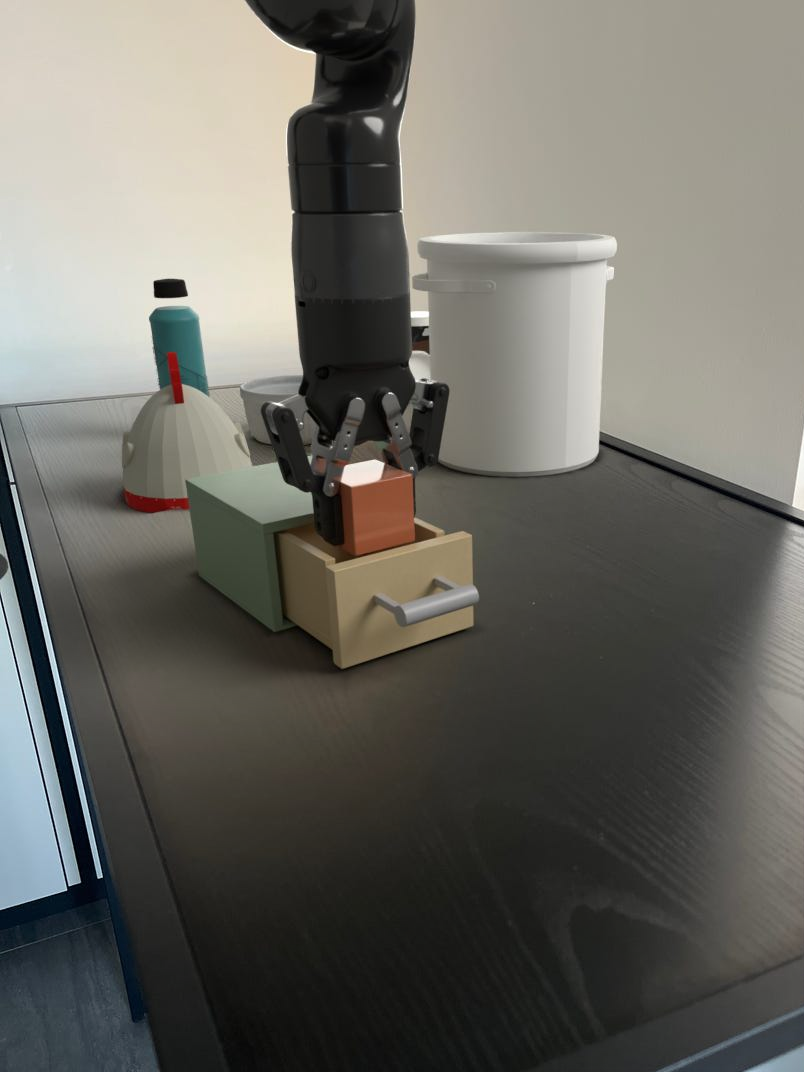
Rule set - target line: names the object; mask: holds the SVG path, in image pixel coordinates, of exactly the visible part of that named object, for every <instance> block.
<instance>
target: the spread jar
mask: <svg viewBox="0 0 804 1072" xmlns="http://www.w3.org/2000/svg"><path fill="white" fill-rule="evenodd" d="M411 332H412V355H411V357H410V359H409V367H410V370H411V372H412V374H413V376H414V378H415V380H421V379H422V378H426V379H430V380H431V378H430V345H429V312H428V311H411Z"/></svg>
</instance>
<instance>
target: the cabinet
mask: <svg viewBox="0 0 804 1072" xmlns="http://www.w3.org/2000/svg"><path fill="white" fill-rule="evenodd" d="M307 457H308V460H309V463H310V464H311V460H312V455H307ZM252 466H253V467H248V468H243V469H237V470H232V471H227V472H221V473H216V474H211V475H205V476H200V477H195V478H189V479H185V483H186V488H187V496H188V503H189V509H188V510H189V516H190V523H191V529H192V536H193V542H194V549H195V556H196V562H197V564H196V565H197V570H198V576H199V577H200V578H201V579H203V580H204V581H206V582H207V583H208V584H209V585H211V586H212V587H213V588H215V589H217V590H218V591H219V592H220V593H222V594H223V595H224V596H226V597H227V598H228V599H230V600H231V601H232V602H234V603H235V604H236V605H237V606H239V607H240V608H242V609H243V610H244V611H245V612H247V613H248V614H249V615H251V616H252V617H254V618H255V619H256V620H257V621H259V622H260V623H262V624H263V625H265V626H266V627H267V628H269V630H271V631H272V632H274V633H276V632H280V631H283V630H287V629H291V628H293V627H297V626H298V625H297V624H296V623H294V622H293V621H291V620H290V619H289V618H287V617H286V616H284V615H283V614H282V608H281V599H280V590H279V581H278V572H277V563H276V553H275V544H274V535H273V532H277V531H281V530H286V529H290V528H294V527H299V526H303V525H307V524H312V523H314V521H315V520H314V512H313V500H312V494H311V492H308V493H305V492H303V491H301V490H299V489H298V488H296V487H294V486H291V485H289V484H287V483H285V481H284V480H283V477H282V474H281V471H280V468H279V465H278V462H277V461H274V462H270V463H264V464H260V465H252Z"/></svg>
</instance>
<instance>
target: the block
mask: <svg viewBox="0 0 804 1072" xmlns="http://www.w3.org/2000/svg"><path fill="white" fill-rule="evenodd" d="M337 494H339V495H341V498H342V512H343V526H344V544H343V545H338V546H339V547H340V548H342V549H344V550H346V551H348V552H349V553H351V554H353V555H355V556H358V555H362V554H366V553H370V552H373V551H377V550H381V549H385V548H389V547H393V546H397V545H401V544H405V543H409V542H413V541H415V530H414V504H413V478H412V474H410V473H408V472H405V471H403V470H400V469H398V468H395V467H393V466H390V465H388V464H385V462H384V461H380V460H378V459H371V460H365V461H360V462H356V463H351V464H350V463H349V464H347V465H345V467H344V471H343V475H342V479H341V483H340V487H339V491H338V493H337ZM322 538H323V537H322Z"/></svg>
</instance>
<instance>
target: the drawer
mask: <svg viewBox="0 0 804 1072" xmlns="http://www.w3.org/2000/svg"><path fill="white" fill-rule="evenodd" d="M414 530H415V541H413V542H409V543H405V544H401V545H397V546H393V547H389V548H385V549H381V550H377V551H373V552H370V553H366V554H362V555H358V556H355V555H353V554H351V553H349V552H348V551H346V550H344V549H342V548H340V547H339V546H333V545H331V544H329V543H327V542H326V541H324V539H323V538H322V537H321V536H320V535H318V534H317V532H316V530H315V524H314V523H312V524H307V525H303V526H299V527H294V528H290V529H286V530H281V531H277V532H273V535H274V544H275V553H276V563H277V572H278V581H279V590H280V599H281V608H282V614H283V615H284V616H286V617H287V618H289V619H290V620H291V621H293V622H294V623H296V624H297V626H298V627H300V628H301V629H302V630H304V631H305V632H307V633H308V634H310V635H311V636H313V638H315V639H316V640H318V641H320V642H321V643H322V644H324V645H325V646H326V647H327V648H329V649H331V650H332V660H333V663H334V665H335V666H336V667H338V668H340V669H341V670H343V669H346V668H347V669H348V668H350V667H353V666H355V665H359V664H362V663H365V662H368V661H371V660H374V659H377V658H380V657H383V656H386V655H389V654H391V653H396V652H398V651H401V650H405V649H408V648H411V647H414V646H418V645H420V644H423V643H425V642H429V641H432V640H435V639H438V638H441V637H443V636H448V635H450V634H453V633H457V632H459V631H462V630H463V631H464V630H465V629H468V628H472V627H474V606H476V605H478V603H479V600H480V595H479V591H478V589H477V587H476V586H475V585H474V574H473V573H474V572H473V570H474V569H473V535H472V534H470V533H468V532H467V531H464V530H460V531H457V532H453V533H450V534H446V535H445V530H444V529H441V528H440V527H437V526H435V525H432V524H431V523H428V522H426V521H424V520H422V519H419V518H417V517H414Z"/></svg>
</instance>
